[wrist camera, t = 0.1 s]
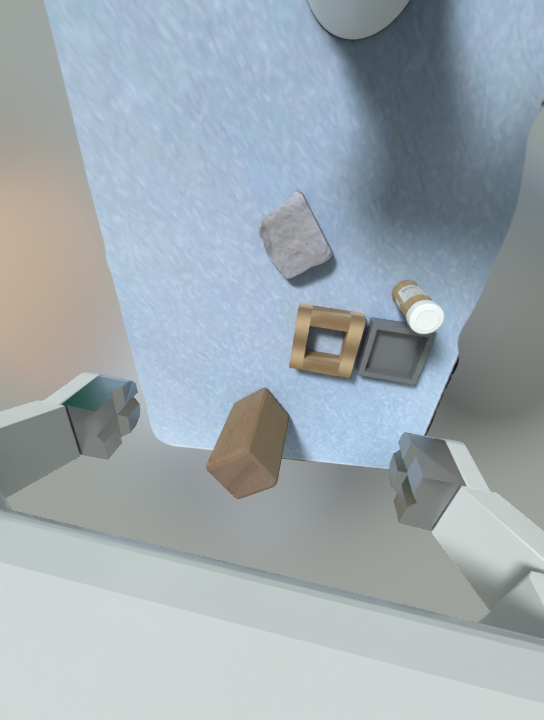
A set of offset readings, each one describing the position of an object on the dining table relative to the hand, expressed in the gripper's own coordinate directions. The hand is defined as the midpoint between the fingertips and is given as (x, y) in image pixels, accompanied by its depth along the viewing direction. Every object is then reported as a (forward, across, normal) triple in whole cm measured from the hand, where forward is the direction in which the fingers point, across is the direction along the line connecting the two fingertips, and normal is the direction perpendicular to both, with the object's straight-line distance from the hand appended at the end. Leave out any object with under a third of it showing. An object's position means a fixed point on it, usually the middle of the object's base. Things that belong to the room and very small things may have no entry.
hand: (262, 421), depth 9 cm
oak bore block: (+48, -5, +18) cm, 52 cm away
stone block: (+48, +4, +1) cm, 49 cm away
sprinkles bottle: (+48, -17, +7) cm, 52 cm away
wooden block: (+48, +6, +39) cm, 62 cm away
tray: (+48, -18, +18) cm, 54 cm away
